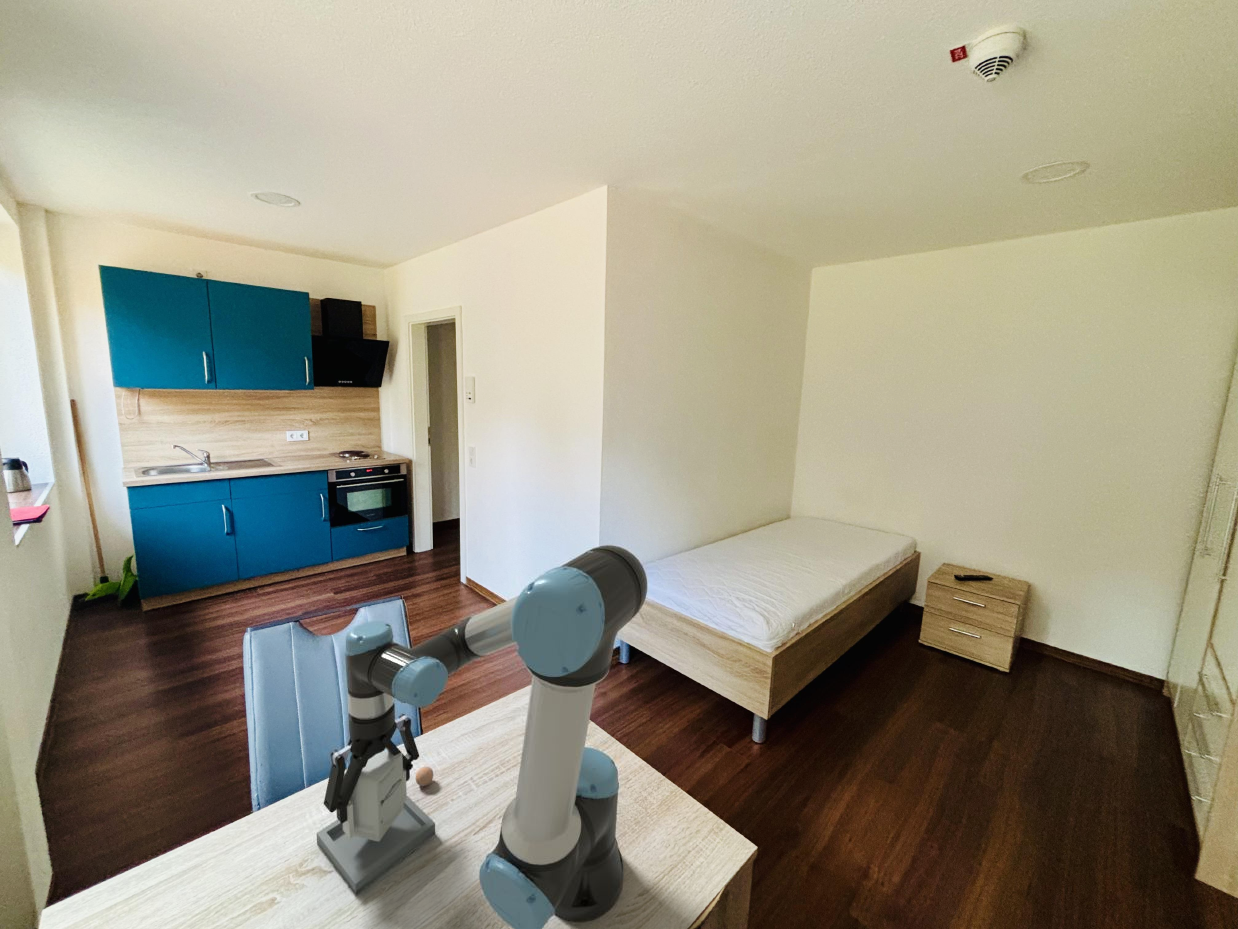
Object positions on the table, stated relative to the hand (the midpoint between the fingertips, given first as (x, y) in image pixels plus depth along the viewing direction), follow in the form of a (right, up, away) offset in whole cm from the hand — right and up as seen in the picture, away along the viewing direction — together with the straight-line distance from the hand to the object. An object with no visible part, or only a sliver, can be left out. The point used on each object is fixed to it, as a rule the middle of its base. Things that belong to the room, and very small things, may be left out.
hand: (375, 814), depth 92 cm
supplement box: (0, -2, 0) cm, 2 cm away
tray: (0, -5, +1) cm, 5 cm away
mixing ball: (+4, -3, +14) cm, 15 cm away
